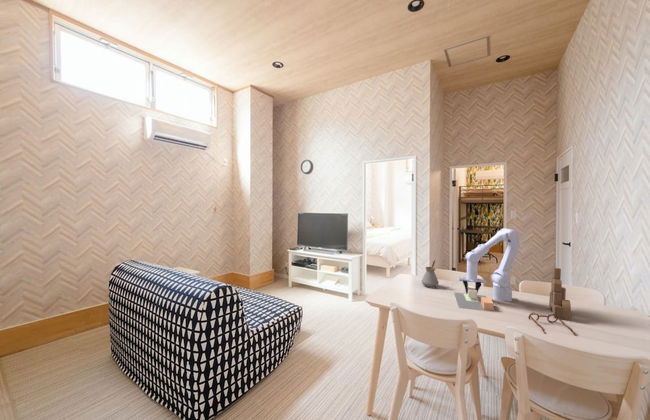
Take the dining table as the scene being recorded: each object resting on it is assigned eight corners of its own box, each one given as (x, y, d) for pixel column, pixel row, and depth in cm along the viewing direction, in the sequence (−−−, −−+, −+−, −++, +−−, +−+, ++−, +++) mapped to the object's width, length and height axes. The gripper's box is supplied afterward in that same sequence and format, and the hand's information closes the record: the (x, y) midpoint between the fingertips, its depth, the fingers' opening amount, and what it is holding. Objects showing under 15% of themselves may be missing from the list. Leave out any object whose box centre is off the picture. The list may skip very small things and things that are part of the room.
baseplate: (485, 297, 165) (485, 295, 165) (495, 314, 142) (495, 312, 142) (453, 293, 171) (453, 292, 171) (458, 309, 149) (459, 307, 149)
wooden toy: (571, 321, 134) (573, 273, 132) (554, 318, 137) (556, 271, 136) (564, 309, 147) (566, 265, 145) (548, 307, 150) (550, 264, 149)
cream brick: (474, 293, 165) (474, 286, 164) (476, 297, 157) (477, 291, 157) (466, 292, 166) (466, 286, 166) (468, 296, 159) (468, 290, 158)
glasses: (556, 323, 133) (557, 313, 133) (576, 337, 120) (577, 326, 120) (527, 321, 135) (528, 312, 135) (544, 335, 122) (544, 324, 122)
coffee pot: (436, 289, 179) (437, 268, 178) (419, 286, 185) (419, 265, 184) (442, 281, 196) (442, 261, 195) (426, 278, 203) (426, 259, 202)
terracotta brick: (489, 304, 152) (490, 297, 152) (493, 310, 145) (493, 303, 144) (480, 303, 154) (481, 296, 153) (484, 309, 146) (484, 302, 146)
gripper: (459, 272, 160) (459, 294, 160) (487, 274, 155) (486, 297, 155) (458, 269, 166) (457, 290, 167) (484, 271, 161) (483, 293, 162)
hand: (471, 293), depth 162 cm, fingers closed on cream brick, 4 cm apart
